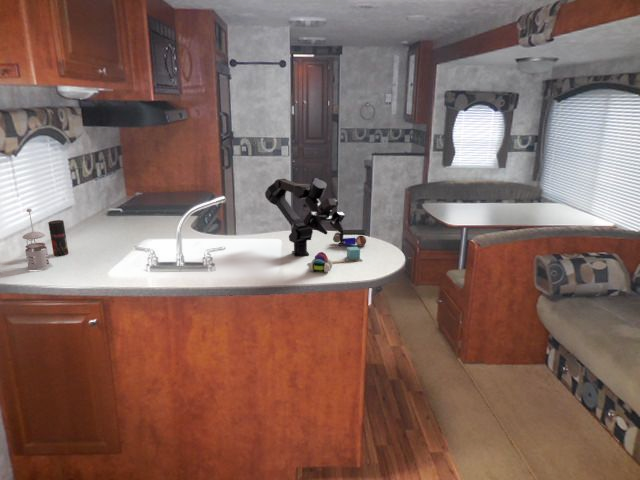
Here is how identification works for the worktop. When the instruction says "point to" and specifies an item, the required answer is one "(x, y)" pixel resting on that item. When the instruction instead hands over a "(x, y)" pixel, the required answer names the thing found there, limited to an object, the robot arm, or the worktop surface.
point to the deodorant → (58, 238)
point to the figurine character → (347, 241)
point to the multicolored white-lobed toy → (320, 263)
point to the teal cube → (353, 253)
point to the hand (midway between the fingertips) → (335, 233)
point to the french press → (36, 251)
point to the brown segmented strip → (345, 261)
